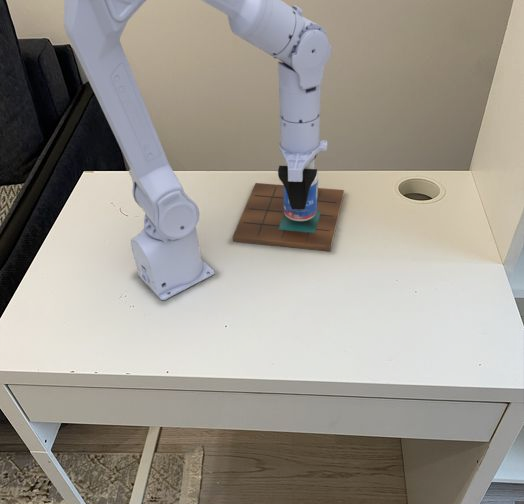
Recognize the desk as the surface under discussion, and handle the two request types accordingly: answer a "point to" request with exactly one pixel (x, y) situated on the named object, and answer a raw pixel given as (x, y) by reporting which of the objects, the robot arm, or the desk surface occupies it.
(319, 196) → the board
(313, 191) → the pill bottle
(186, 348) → the desk surface
